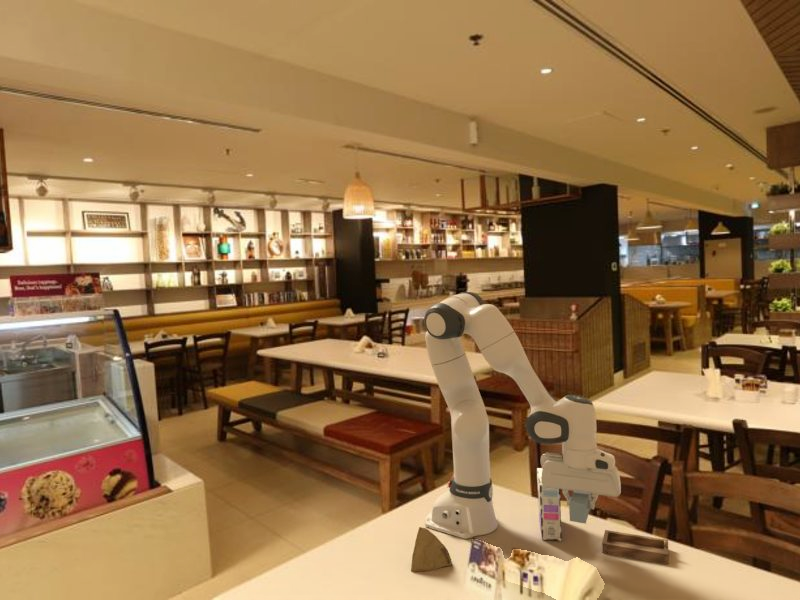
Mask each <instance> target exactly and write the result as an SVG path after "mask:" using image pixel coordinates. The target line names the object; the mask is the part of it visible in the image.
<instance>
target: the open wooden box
mask: <svg viewBox="0 0 800 600" xmlns="http://www.w3.org/2000/svg"><path fill="white" fill-rule="evenodd" d="M603 533H604V534H603V538H602V543H601V546H602V547H601V548H602V550H601V551H602V553H603V554H607V555H608V554H609V555H615V556H619V557H626V558H630V559H631V558H632V559H637V560H642V561H647V562H654V563H659V564H665V565H669V564H670V563H669V559H670V558H669V540H668V539H664V538H657V537H651V536H644V535H639V534H634V533H628V532H627V533H626V532H620V531H615V530H607V529H605V530H604V532H603Z"/></svg>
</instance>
